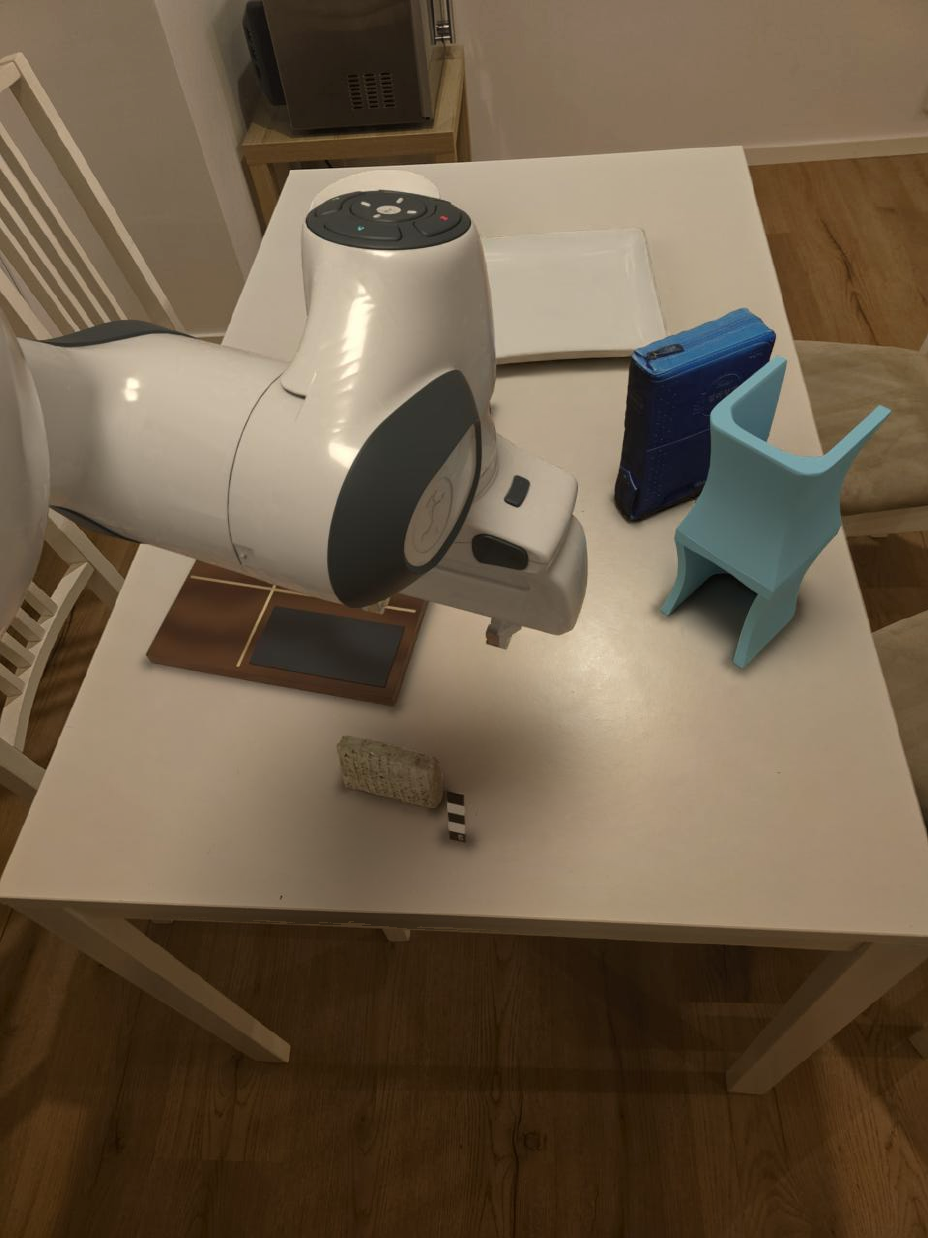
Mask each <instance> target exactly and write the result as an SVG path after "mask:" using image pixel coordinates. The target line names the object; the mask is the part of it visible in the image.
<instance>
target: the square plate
mask: <svg viewBox="0 0 928 1238" xmlns="http://www.w3.org/2000/svg"><path fill="white" fill-rule="evenodd" d="M480 239H481V242H482V246H483V250H484V255H485V259H486V264H487V270H488V275H489V282H490V289H491V297H492V306H493V316H494V329H495V348H496V365H507V364H518V363H528V362H529V363H530V362H541V361H553V360H571V359H588V358H589V359H591V358H620V357H623V358H625V357H631V354H632V353H633V351H635V350H636V349H638V348H641V347H645V346H647V345H649V344H650V343H652V342H655V341H658V340H662V339H664V338H666V337H668V336H670V334H669V330H668V327H667V322H666V319H665V315H664V310H663V307H662V302H661V298H660V295H659V291H658V287H657V282H656V278H655V272H654V267H653V264H652V257H651V253H650V248H649V242H648V238H647V235H646V232H645V230H644V229H643V228H641V227H627V228H610V229H589V230H587V229H586V230H571V231H570V230H569V231H553V232H537V233H524V234H523V233H522V234H514V235H513V234H512V235H503V236H490V237H482V238H481V237H480Z"/></svg>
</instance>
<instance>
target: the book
mask: <svg viewBox="0 0 928 1238" xmlns="http://www.w3.org/2000/svg"><path fill="white" fill-rule="evenodd" d="M776 341H777V334H776V332H775V330H774V329H772V328H770V327H768V325H767V324H765V322H764V321H763V320H762V318H761V317H759V316H758V315H756V314H754V313H753V312H751V311H750V309H749V308H747V307H740V308H737V309H735V310H732V311H730V312H728V313H726V314H725V315H723V316H721V317H719V318H717V319H714V320H710V321H706V322H704V323H701V324H699V325H697V326H695V327H693V328H690V329H688V330H682V331H680V332H678V333H676V334H673V335H669V336H668V337H666V338H664V339H662V340H658V341H655V342H652V343H650V344H649V345H647V346H645V347H641V348H638V349H636V350H635V351H633V353H632V354H631V356H630V362H629V367H628V378H627V379H628V380H627V392H626V400H625V412H624V420H623V425H624V431H623V439H622V446H621V454H620V460H619V461H620V462H619V468H618V472H617V476H616V480H615V484H614V491H613V492H614V493H613V500H614V503H615V505H616V507H617V508H618V509H619V511H620V513H621V515H622V516H623V517H625V518H626V519H627V520H629V521H634V520H639V519H642V518H645V517H648V516H650V515H652V514H654V513H656V512H658V511H661V510H663V509H665V508H667V507H671V506H674V505H675V504H678V503H680V502H684V501H686V500H689V499H691V498H693V497H695V496H697V495H700V494H701V492H702V490H703V488H704V485H705V483H706V481H707V477H708V472H709V468H710V459H711V429H710V414H711V412H712V410H713V409H714V408H715V407H716V406H717V405H718V404H719V403H720V402H721V401H722V400H723V399H724V398H726V397H727V396H728V395H729V394H730V393H732V392H733V391H734V390H735V389H736V388H738V387H739V386H740V385H741V384H743V383H744V382H745V381H746V380H747V379H749V378H750V377H751V376H752V375H754V374H755V373H756V372H757V371H758V370H760V369H761V368H762V367H763V366H765V365H766V364H767V363H768V362H769V361H771V356H772V353H773V350H774V349H775V348H774V347H775V344H776Z"/></svg>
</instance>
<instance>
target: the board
mask: <svg viewBox="0 0 928 1238" xmlns="http://www.w3.org/2000/svg"><path fill="white" fill-rule="evenodd" d="M491 409H492V408H491V402H490V403H489V412H490V413H491ZM428 603H429V601H427V600H423V599H419V598H416V597H412V596H408V595H404V594H401V593H397V594H395V595H393V596H391V597H390V600H389V603H388V605H387V606H386V607H384V609H385V611H384V613H383V614H382V615H380V614H376V613H372V612H368V611H364V610H362V608H350V607H348V606H346V605H342V604H338V603H334V602H330V601H326V600H322V599H319V598H316V597H312V596H309V595H306V594H302V593H299V592H296V591H292V590H289V589H286V588H283V587H280V586H277V585H273V584H270V583H267V582H264V581H261V580H259V579H256V578H253V577H250V576H247V575H243V574H240V573H237V572H234V571H231V570H228V569H225V568H221V567H218V566H215V565H212V564H209V563H206V562H202V561H199V560H196V559H195V561H194V563H193V565H192V566H191V569H190V570H189V573H188V574H187V576H186V578H185V580H184V581H183V583H182V585H181V587H180V589H179V591H178V592H177V595H176V597H175V598H174V600H173V603H172V604H171V606H170V608H169V609H168V611H167V614H166V615H165V617H164V619H163V621H162V623H161V625H160V626H159V629H158V630H157V632H156V634H155V635H154V638H153V640H152V642H151V643H150V644H149V647H148V649H147V651H146V653H145V657H146V658H147V659H148V660H149V662H150V663H153V664H158V665H163V666H169V667H173V668H180V669H186V670H192V671H196V672H202V673H208V674H212V675H213V674H214V675H219V676H225V677H230V678H235V679H241V680H247V681H253V682H259V683H264V684H270V685H274V686H281V687H286V688H289V689H290V688H291V689H296V690H302V691H308V692H314V693H317V694H318V693H319V694H325V695H330V696H335V697H341V698H346V699H352V700H357V701H363V702H368V703H374V704H379V705H384V706H385V705H386V706H391V707H395V705H396V702H397V700H398V695H399V693H400V689H401V687H402V685H403V684H402V683H403V680H404V677H405V675H406V671H407V668H408V665H409V662H410V659H411V656H412V652H413V649H414V647H415V643H416V640H417V637H418V634H419V631H420V628H421V625H422V623H423V622H422V621H423V619H424V615H425V613H426V609H427V607H428Z"/></svg>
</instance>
